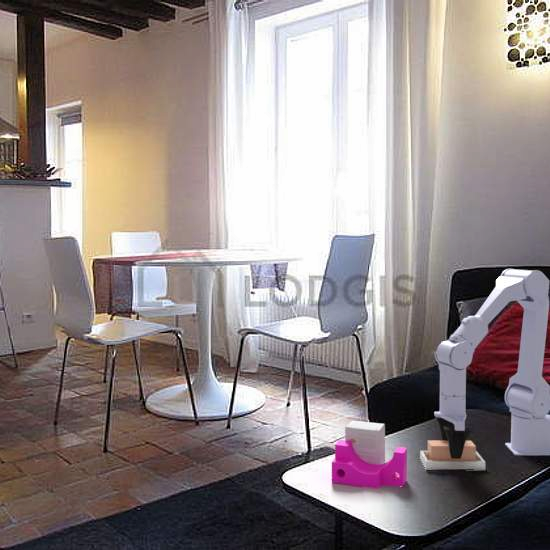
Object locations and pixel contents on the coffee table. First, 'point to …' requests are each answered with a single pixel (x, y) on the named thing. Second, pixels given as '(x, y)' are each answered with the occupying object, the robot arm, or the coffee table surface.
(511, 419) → the robot arm
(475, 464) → the gray rectangular tray
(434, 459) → the peach rectangular prism
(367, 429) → the small box
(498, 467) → the coffee table surface
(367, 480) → the toy block
